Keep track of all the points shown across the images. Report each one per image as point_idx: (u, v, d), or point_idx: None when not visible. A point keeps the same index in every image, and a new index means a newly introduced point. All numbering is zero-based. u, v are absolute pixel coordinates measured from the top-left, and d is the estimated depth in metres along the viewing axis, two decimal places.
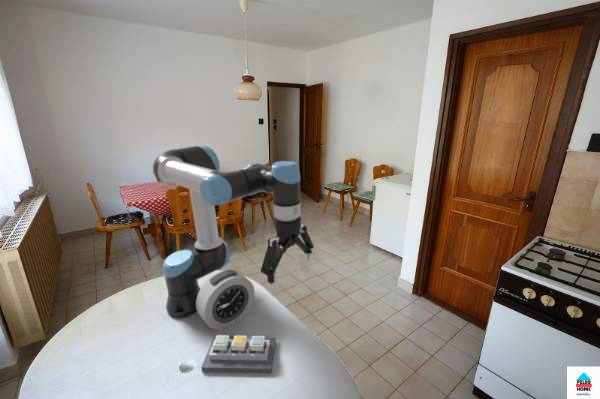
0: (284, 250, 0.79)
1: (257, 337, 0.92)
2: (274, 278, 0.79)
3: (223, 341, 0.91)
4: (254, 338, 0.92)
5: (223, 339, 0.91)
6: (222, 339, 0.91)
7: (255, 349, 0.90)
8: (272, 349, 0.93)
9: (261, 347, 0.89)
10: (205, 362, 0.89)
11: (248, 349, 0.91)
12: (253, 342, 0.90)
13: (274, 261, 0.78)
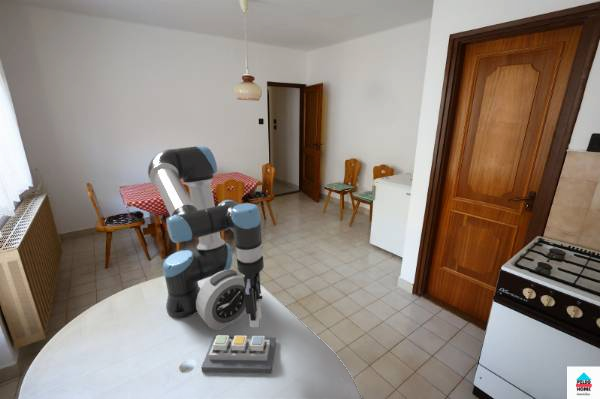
0: (256, 288, 0.82)
1: (257, 337, 0.92)
2: (256, 314, 0.85)
3: (223, 341, 0.91)
4: (254, 338, 0.92)
5: (223, 339, 0.91)
6: (222, 339, 0.91)
7: (255, 349, 0.90)
8: (272, 349, 0.93)
9: (261, 347, 0.89)
10: (205, 362, 0.89)
11: (248, 349, 0.91)
12: (253, 342, 0.90)
13: None
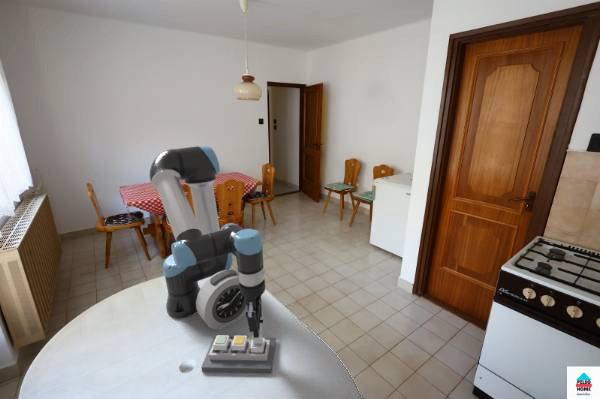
0: (259, 309, 0.85)
1: None
2: (259, 331, 0.89)
3: (223, 341, 0.91)
4: None
5: (223, 339, 0.91)
6: (222, 339, 0.91)
7: (255, 351, 0.90)
8: (272, 349, 0.93)
9: (261, 349, 0.90)
10: (205, 362, 0.89)
11: (248, 349, 0.91)
12: (253, 344, 0.90)
13: None
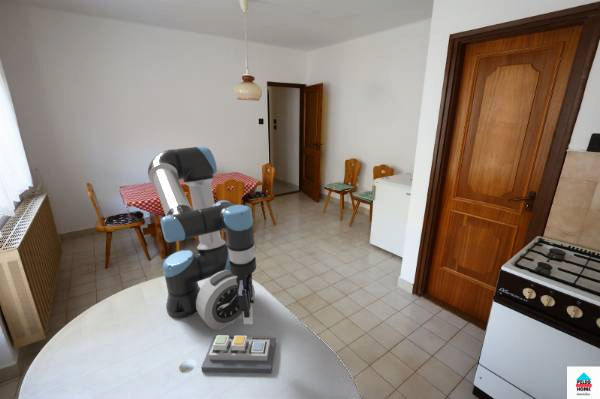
0: (249, 288, 0.83)
1: (257, 343, 0.93)
2: (250, 311, 0.87)
3: (223, 341, 0.91)
4: (255, 344, 0.92)
5: (223, 339, 0.91)
6: (222, 339, 0.91)
7: None
8: (272, 349, 0.93)
9: (262, 353, 0.90)
10: (205, 362, 0.89)
11: (248, 349, 0.91)
12: (254, 348, 0.91)
13: None
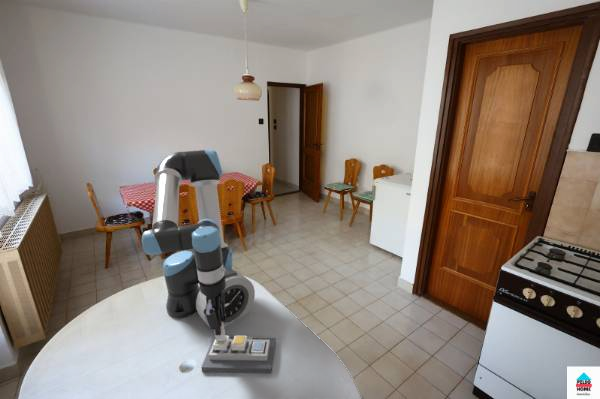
0: (219, 307, 0.85)
1: (257, 343, 0.93)
2: (221, 329, 0.89)
3: (223, 341, 0.91)
4: (255, 344, 0.92)
5: None
6: None
7: None
8: (272, 349, 0.93)
9: (262, 353, 0.90)
10: (205, 362, 0.89)
11: (248, 349, 0.91)
12: (254, 348, 0.91)
13: (216, 318, 0.86)
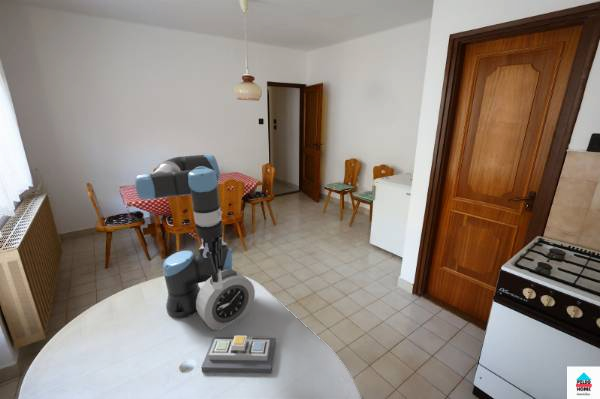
0: (216, 252, 0.84)
1: (257, 343, 0.93)
2: (218, 276, 0.88)
3: (224, 347, 0.91)
4: (255, 344, 0.92)
5: (224, 345, 0.92)
6: (222, 345, 0.92)
7: None
8: (272, 349, 0.93)
9: (262, 353, 0.90)
10: (205, 362, 0.89)
11: (248, 349, 0.91)
12: (254, 348, 0.91)
13: (213, 264, 0.85)
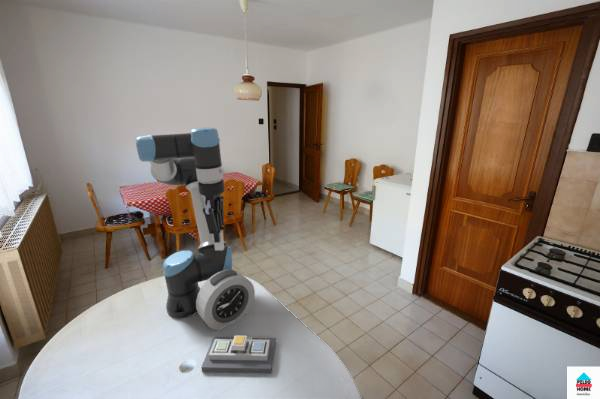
0: (218, 211, 0.87)
1: (257, 343, 0.93)
2: (220, 237, 0.90)
3: (224, 347, 0.91)
4: (255, 344, 0.92)
5: (224, 345, 0.92)
6: (222, 345, 0.92)
7: None
8: (272, 349, 0.93)
9: (262, 353, 0.90)
10: (205, 362, 0.89)
11: (248, 349, 0.91)
12: (254, 348, 0.91)
13: (215, 223, 0.88)
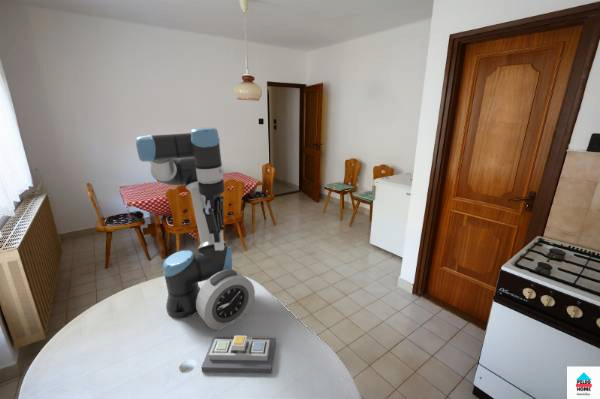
0: (218, 211, 0.87)
1: (257, 343, 0.93)
2: (220, 237, 0.90)
3: (224, 347, 0.91)
4: (255, 344, 0.92)
5: (224, 345, 0.92)
6: (222, 345, 0.92)
7: None
8: (272, 349, 0.93)
9: (262, 353, 0.90)
10: (205, 362, 0.89)
11: (248, 349, 0.91)
12: (254, 348, 0.91)
13: (215, 223, 0.88)
